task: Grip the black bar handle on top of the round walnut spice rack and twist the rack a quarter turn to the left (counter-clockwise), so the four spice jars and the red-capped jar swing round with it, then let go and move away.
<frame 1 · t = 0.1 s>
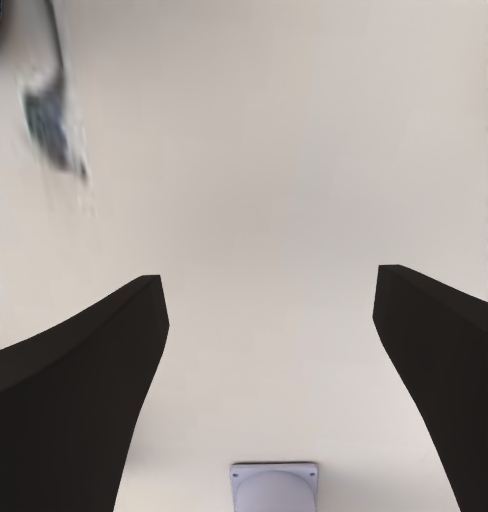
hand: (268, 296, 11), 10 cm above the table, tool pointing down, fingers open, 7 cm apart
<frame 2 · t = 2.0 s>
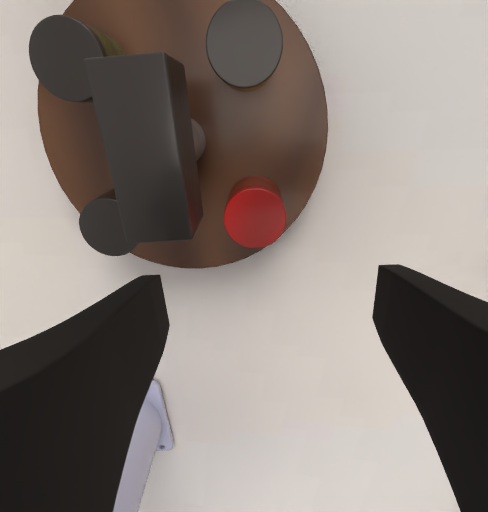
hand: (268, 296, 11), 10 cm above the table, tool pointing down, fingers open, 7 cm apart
spice rack: (169, 146, 14), point 5 cm above the table, hinge at 0.0°
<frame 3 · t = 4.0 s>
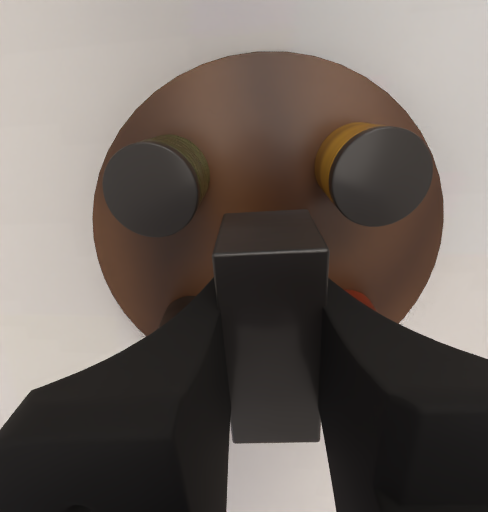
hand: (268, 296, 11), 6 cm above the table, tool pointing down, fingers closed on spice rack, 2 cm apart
spice rack: (267, 286, 11), point 5 cm above the table, hinge at 0.0°, touching gripper
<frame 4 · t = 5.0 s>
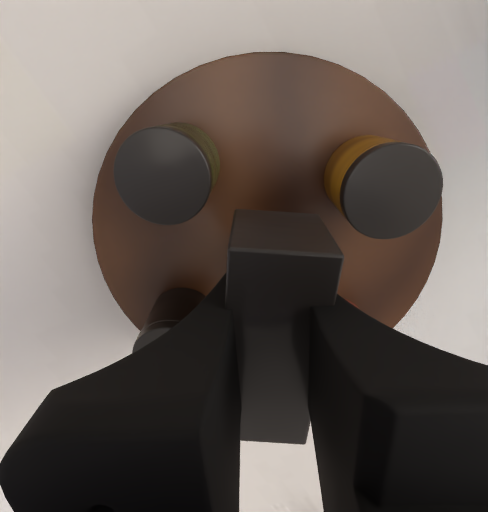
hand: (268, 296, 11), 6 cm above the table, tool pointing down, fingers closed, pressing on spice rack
spice rack: (266, 285, 12), point 5 cm above the table, hinge at 52.3°, touching gripper
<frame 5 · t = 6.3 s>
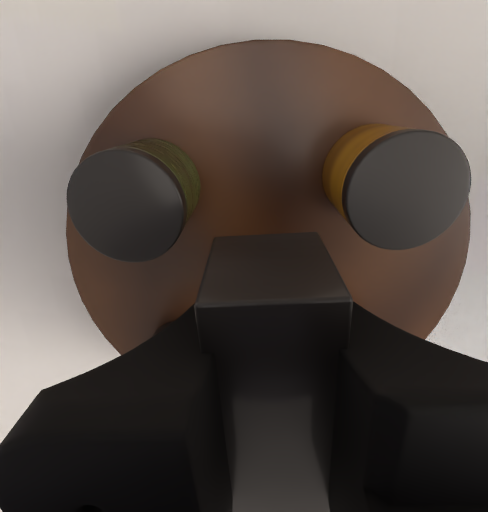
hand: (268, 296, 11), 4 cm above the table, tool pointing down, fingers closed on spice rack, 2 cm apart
spice rack: (267, 317, 10), point 5 cm above the table, hinge at 89.3°, touching gripper
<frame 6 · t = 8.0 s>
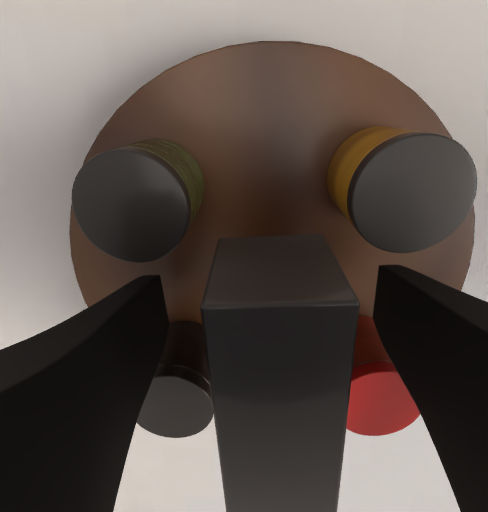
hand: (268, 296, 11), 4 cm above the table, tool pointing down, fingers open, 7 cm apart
spice rack: (271, 319, 10), point 5 cm above the table, hinge at 89.3°
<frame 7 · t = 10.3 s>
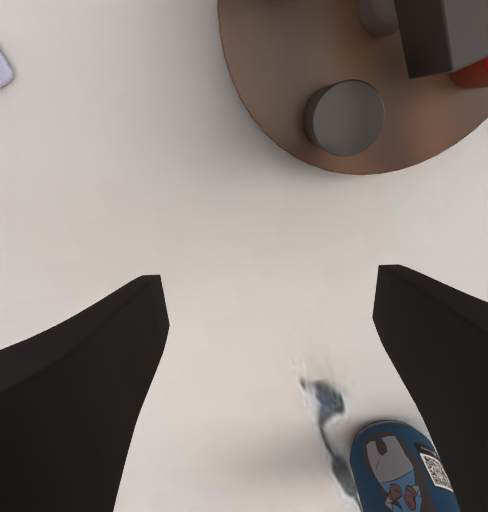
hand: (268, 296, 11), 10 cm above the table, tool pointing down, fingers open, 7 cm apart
soda can: (384, 440, 29), on the table
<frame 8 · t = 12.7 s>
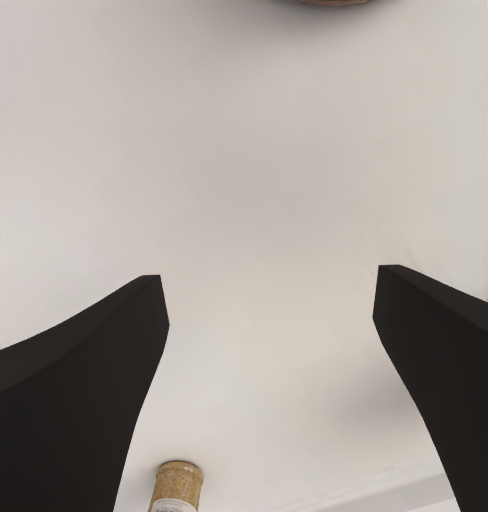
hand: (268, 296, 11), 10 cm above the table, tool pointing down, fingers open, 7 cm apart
sprinkles bottle: (181, 471, 32), on the table
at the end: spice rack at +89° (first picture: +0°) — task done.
